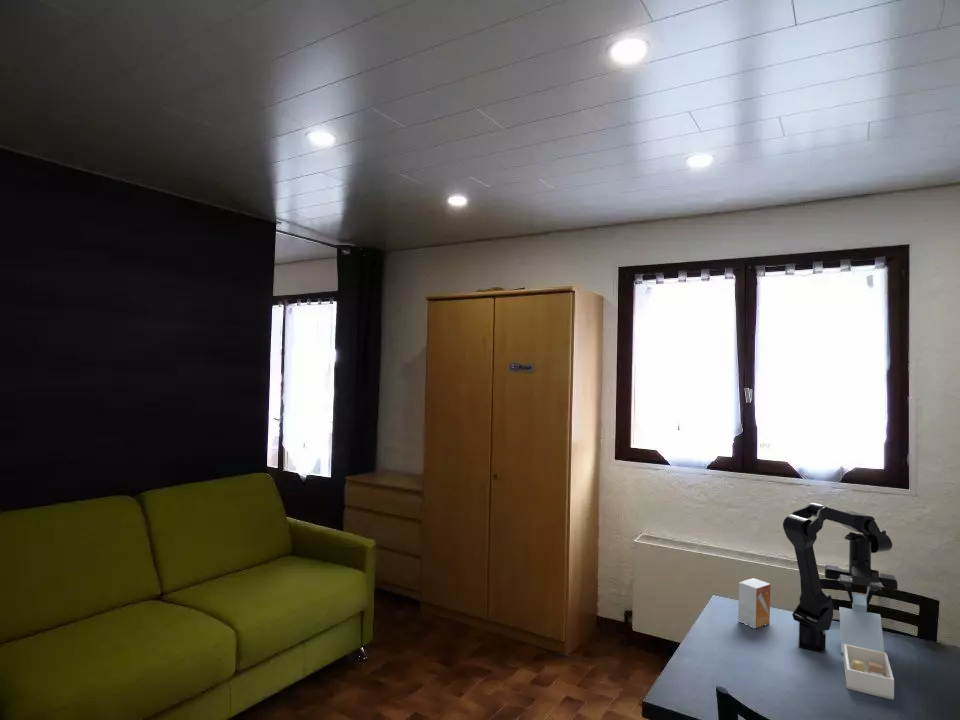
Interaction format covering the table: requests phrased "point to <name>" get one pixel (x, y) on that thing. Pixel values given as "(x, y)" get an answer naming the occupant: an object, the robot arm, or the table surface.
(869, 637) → the lid
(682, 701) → the table surface
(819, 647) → the robot arm
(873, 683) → the tub
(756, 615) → the small box
